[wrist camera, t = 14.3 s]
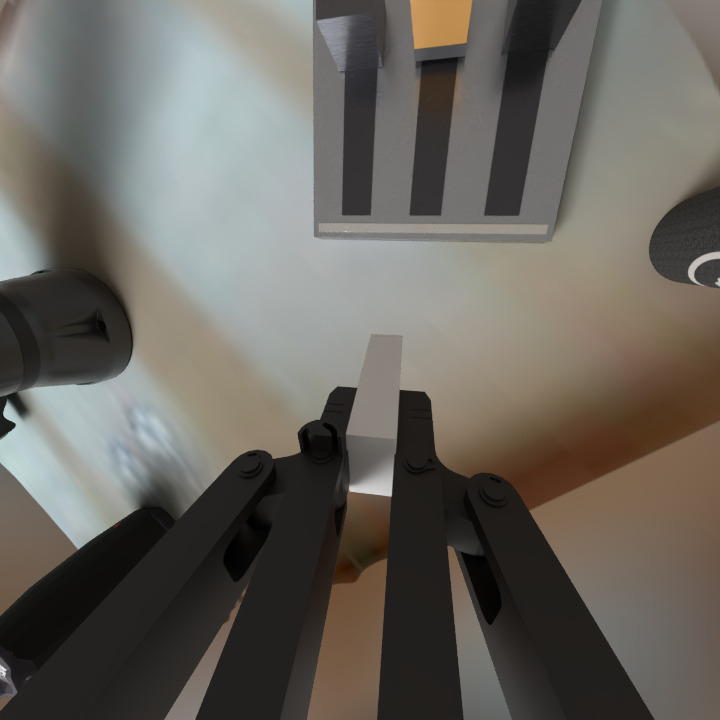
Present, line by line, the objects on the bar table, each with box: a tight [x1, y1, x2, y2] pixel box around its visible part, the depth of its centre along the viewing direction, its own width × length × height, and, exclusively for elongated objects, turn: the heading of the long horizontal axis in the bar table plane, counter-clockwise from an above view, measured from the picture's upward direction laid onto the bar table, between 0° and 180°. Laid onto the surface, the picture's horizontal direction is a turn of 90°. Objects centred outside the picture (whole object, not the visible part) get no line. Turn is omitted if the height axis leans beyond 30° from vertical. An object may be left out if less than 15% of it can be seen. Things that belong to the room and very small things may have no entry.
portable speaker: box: [0, 508, 174, 698], centre depth 39 cm, size 9×9×20 cm
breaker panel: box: [313, 0, 603, 243], centre depth 21 cm, size 20×18×7 cm
